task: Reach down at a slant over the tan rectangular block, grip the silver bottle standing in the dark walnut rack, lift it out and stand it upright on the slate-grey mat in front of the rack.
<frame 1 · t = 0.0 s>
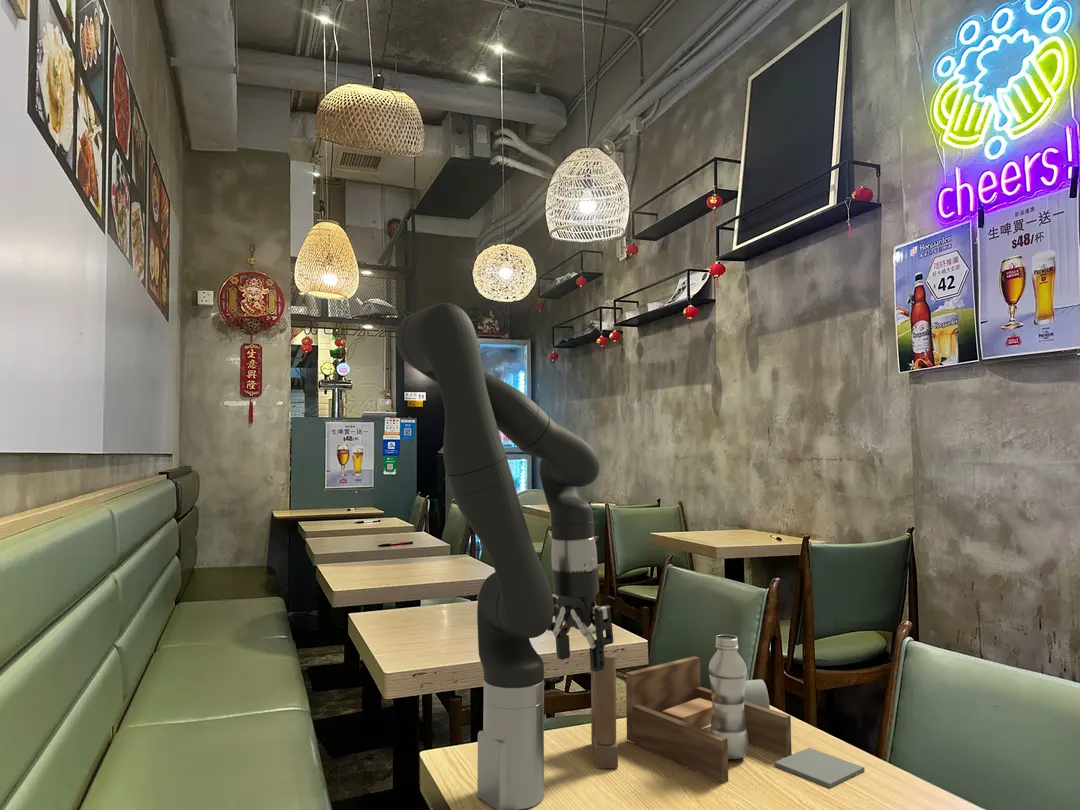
hand: (580, 664, 117), 17 cm above the table, tool pointing down, fingers open, 8 cm apart
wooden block: (604, 757, 122), on the table
silver bottle: (729, 757, 122), on the table
ceramic mug: (748, 724, 138), on the table
slate mat: (819, 768, 117), on the table
walnut rack: (710, 748, 125), on the table
tan rectangular block: (690, 742, 129), resting in walnut rack
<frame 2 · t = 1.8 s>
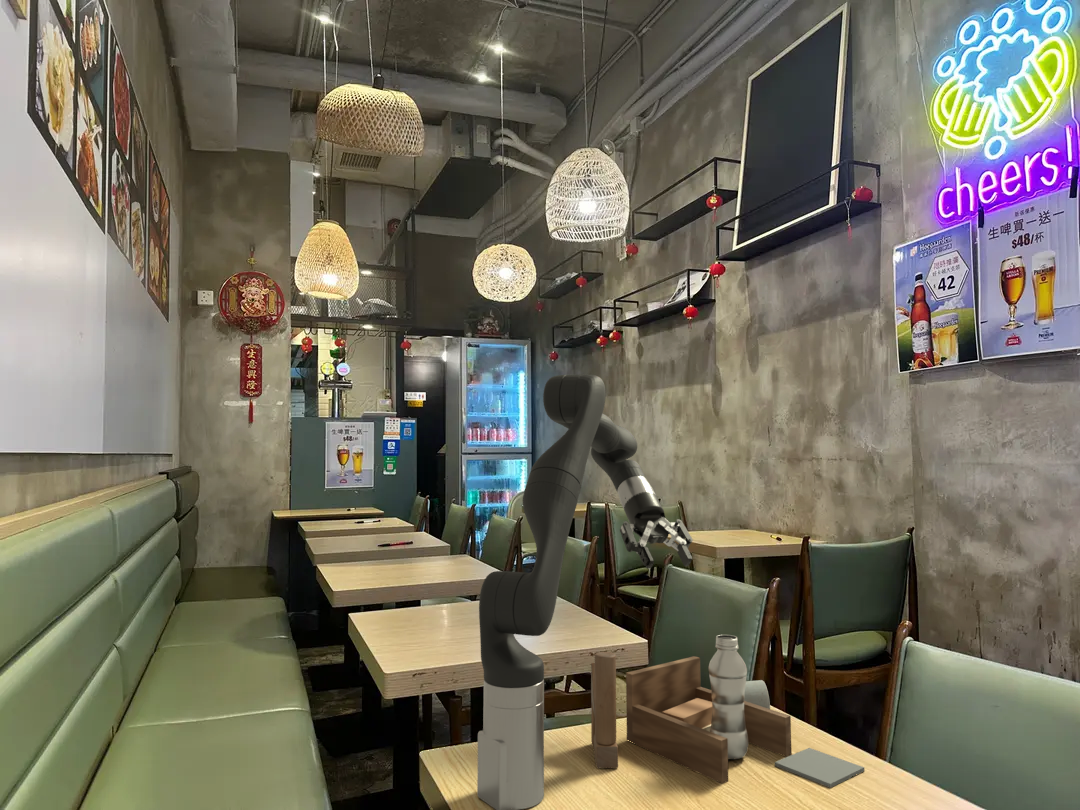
hand: (669, 564, 140), 30 cm above the table, tool tilted 45°, fingers open, 8 cm apart
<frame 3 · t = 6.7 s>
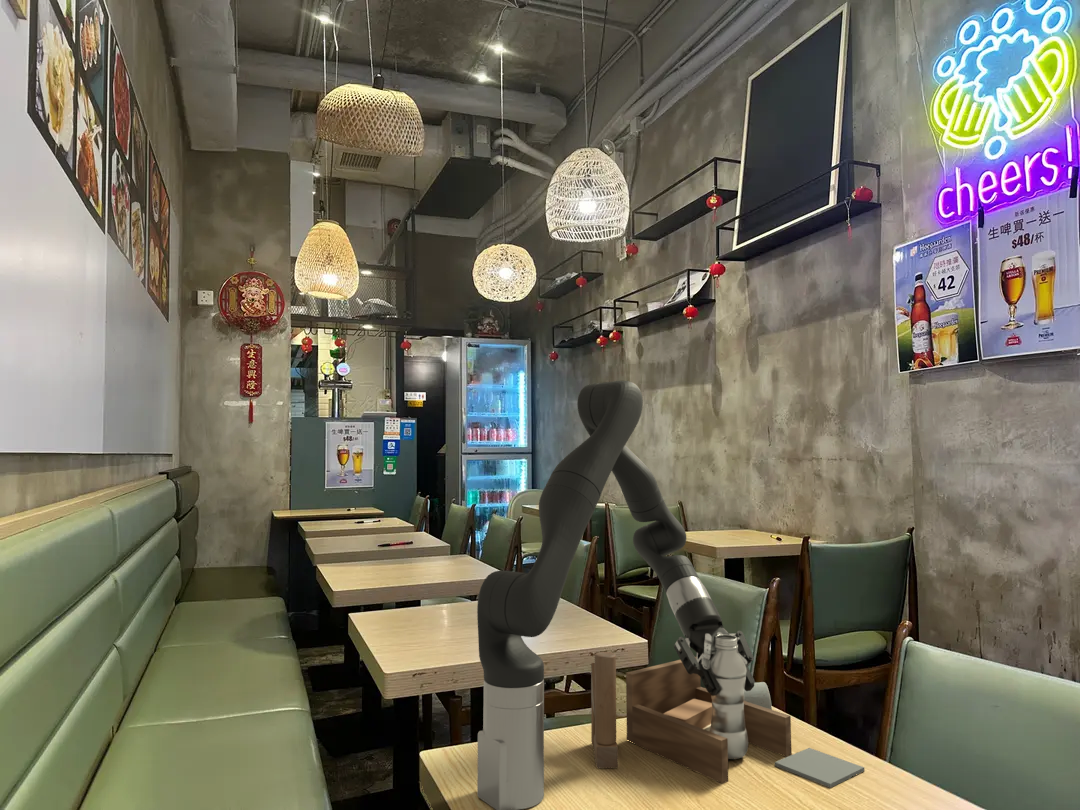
hand: (733, 690, 121), 11 cm above the table, tool tilted 45°, fingers closed on silver bottle, 6 cm apart
silver bottle: (729, 757, 122), on the table, touching gripper
ceramic mug: (750, 727, 136), on the table
when the fingers open (13 cm above the table, at t = 14.2 s): silver bottle drops 1 cm, resting on slate mat.
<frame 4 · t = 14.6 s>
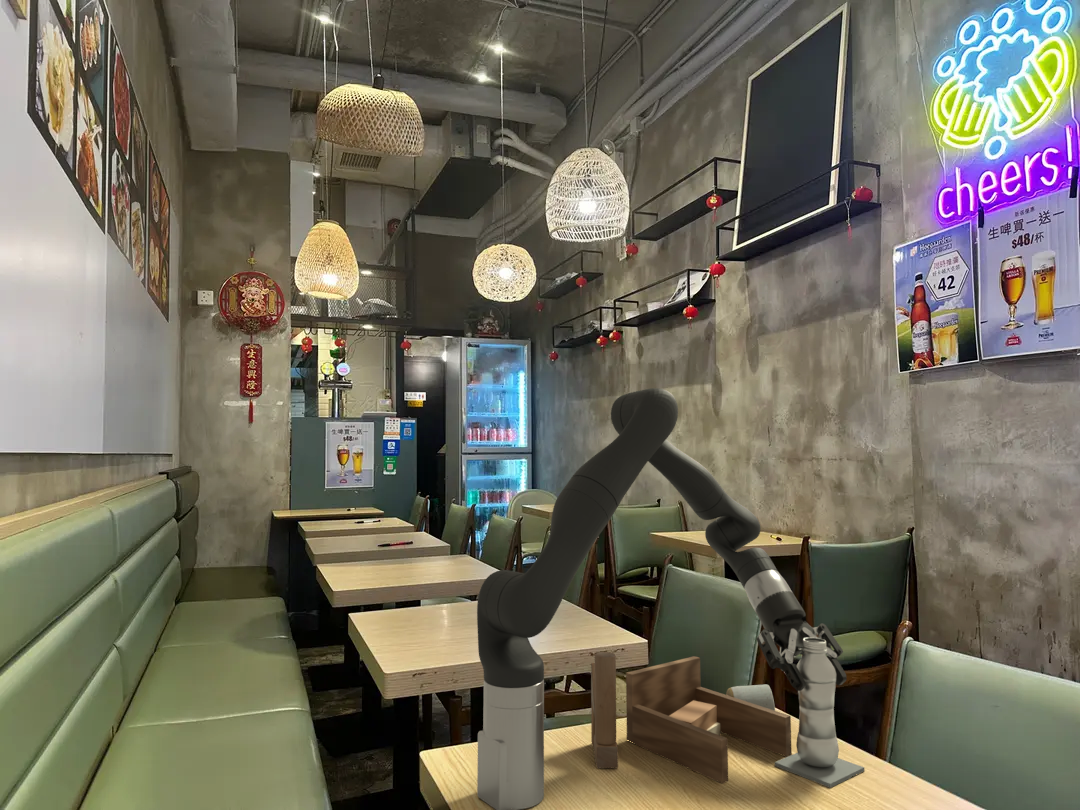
hand: (822, 685, 117), 14 cm above the table, tool tilted 45°, fingers open, 8 cm apart
silver bottle: (818, 765, 117), resting on slate mat
ceramic mug: (753, 730, 135), on the table
tan rectangular block: (692, 746, 127), resting in walnut rack
everything else where it was.
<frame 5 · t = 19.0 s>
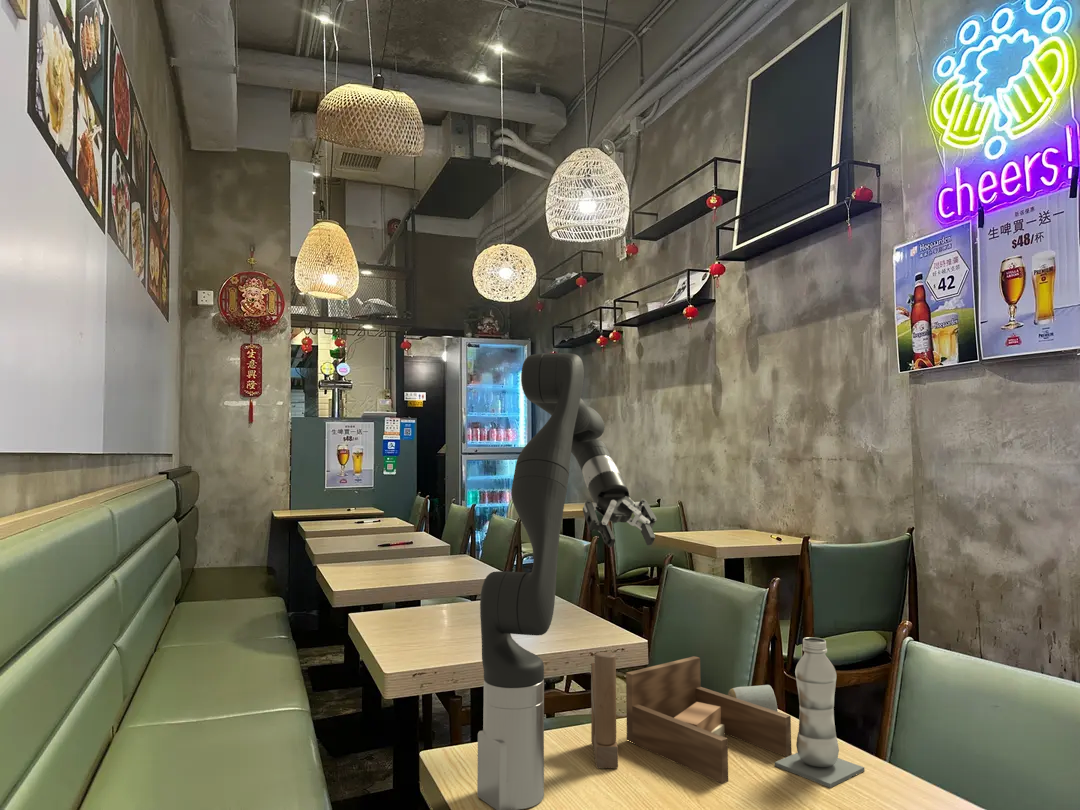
hand: (632, 543, 137), 35 cm above the table, tool tilted 45°, fingers open, 8 cm apart
tan rectangular block: (696, 748, 126), resting in walnut rack
at the end: silver bottle inside the target area (0.2 cm from its centre), resting on slate mat; silver bottle tilted 0°; the gripper is holding nothing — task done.
